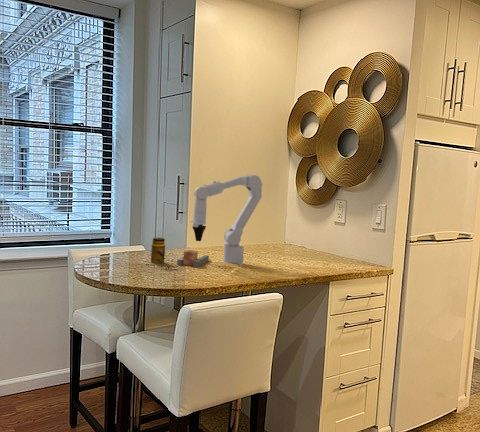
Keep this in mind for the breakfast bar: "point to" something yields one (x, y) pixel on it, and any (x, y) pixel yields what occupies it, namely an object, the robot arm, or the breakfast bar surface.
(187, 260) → the block
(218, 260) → the breakfast bar surface
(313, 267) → the breakfast bar surface
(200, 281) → the breakfast bar surface
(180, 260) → the chute
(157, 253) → the condiment
